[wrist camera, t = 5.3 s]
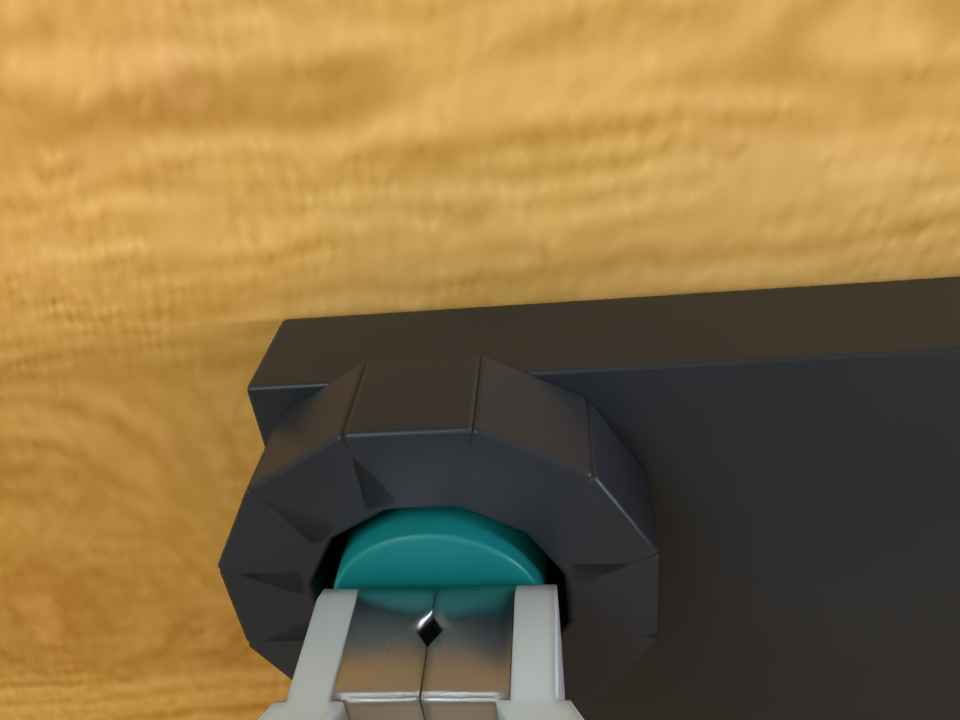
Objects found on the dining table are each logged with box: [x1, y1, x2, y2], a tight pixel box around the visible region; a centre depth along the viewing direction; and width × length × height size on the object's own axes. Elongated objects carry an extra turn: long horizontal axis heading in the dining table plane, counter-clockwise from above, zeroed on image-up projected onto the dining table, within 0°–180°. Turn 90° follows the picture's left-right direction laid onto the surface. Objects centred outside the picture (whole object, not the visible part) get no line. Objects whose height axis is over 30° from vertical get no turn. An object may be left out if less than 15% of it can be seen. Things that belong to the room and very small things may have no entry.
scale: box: [218, 277, 960, 720], centre depth 13 cm, size 14×12×4 cm
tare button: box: [333, 507, 547, 589], centre depth 11 cm, size 3×3×1 cm
